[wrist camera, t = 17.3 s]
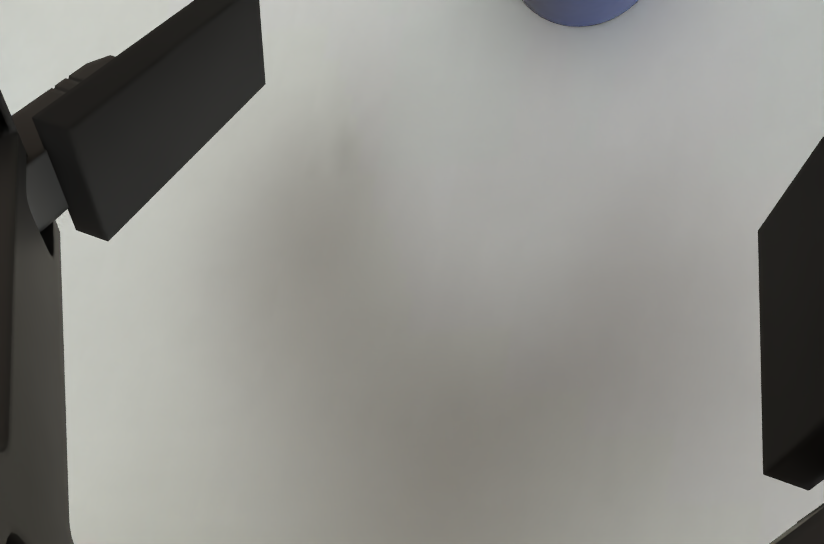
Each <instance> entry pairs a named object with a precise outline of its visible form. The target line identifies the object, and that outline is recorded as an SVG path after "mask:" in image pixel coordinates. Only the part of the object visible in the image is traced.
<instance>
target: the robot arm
mask: <svg viewBox="0 0 824 544" xmlns="http://www.w3.org/2000/svg"><path fill="white" fill-rule="evenodd" d="M264 85H265V72H264V59H263V45H262V32H261V19H260V6H259V0H194V1H193V2H191V3H190V4H189V5H187V6H186V7H184V8H183V9H182V10H180V11H179V12H177V13H176V14H175V15H173V16H172V17H170V18H169V19H168V20H166V21H165V22H164V23H162V24H161V25H159V26H158V27H157V28H155V29H154V30H152V31H151V32H150V33H148V34H147V35H145V36H144V37H143V38H141V39H140V40H139V41H137V42H136V43H134V44H133V45H132V46H130V47H129V48H127V49H126V50H125V51H123V52H122V53H120V54H119V55H118V56H116V57H114V56H111V55H109V56H107V57H104V58H101V59H98V60H95V61H93V62H90V63H87V64H85V65H84V66H82V67H81V68H80V69H78V70H77V71H75V72H74V73H72V74H71V75H70V76H69V79H66V78H65V79H64V80H62V81H61V82H59V83H58V84H57V85H55V88H54V89H53V88H51V89H49V90H48V91H47V92H45V93H44V94H42V95H41V96H39V97H38V98H37V99H35V100H34V101H32V102H31V103H29V104H28V105H27V106H25V107H24V108H22V109H21V110H19V111H18V112H16V113H15V114H14V115H12V116H11V114H10V112H9V109H8V107H7V105H6V102H5V100H4V97H3V95H2V93H1V90H0V544H74V543H73V540H72V537H71V531H70V524H69V500H68V469H67V438H66V406H65V375H64V343H63V312H62V280H61V249H60V231H59V228H58V226H57V223H56V221H55V220H56V219H57V218H58V217H59V216H60V215H61V214H62V213H63V212H64V211H66V210H67V209H68V211H69V213H70V216H71V218H72V221H73V223H74V226H75V228H76V230H78V231H80V232H83V233H86V234H89V235H92V236H94V237H97V238H100V239H103V240H106V241H109V240H110V239H111V238H112V237H113V236H114V235H115V234H116V233H117V232H118V231H119V230H120V229H121V228H122V227H123V226H124V225H125V224H126V223H127V222H128V221H129V220H130V219H131V218H132V217H133V216H134V215H135V214H136V213H137V212H138V211H139V210H140V209H141V208H142V207H143V206H144V205H145V204H146V203H147V202H148V201H149V200H150V199H151V198H152V197H153V196H154V195H155V194H156V193H157V192H158V191H159V190H160V189H161V188H162V187H163V186H164V185H165V184H166V183H167V182H168V181H169V180H170V179H171V178H172V177H173V176H174V175H175V174H176V173H177V172H178V171H179V170H180V169H181V168H182V167H183V166H184V165H185V164H186V163H187V162H188V161H189V160H190V159H191V158H192V157H193V156H194V155H195V154H196V153H197V152H198V151H199V150H200V149H201V148H202V147H203V146H204V145H205V144H206V143H207V142H208V141H209V140H210V139H211V138H212V137H213V136H214V135H215V134H216V133H217V132H218V131H219V130H220V129H221V128H222V127H223V126H224V125H225V124H226V123H227V122H228V121H229V120H230V119H231V118H232V117H233V116H234V115H235V114H236V113H237V112H238V111H239V110H240V109H241V108H242V107H243V106H244V105H245V104H246V103H247V102H248V101H249V100H250V99H251V98H252V97H253V96H254V95H255V94H256V93H257V92H258V91H259V90H260V89H261V88H262V87H263V86H264ZM758 254H759V300H760V346H761V393H762V439H763V474H764V475H767V476H769V477H772V478H775V479H778V480H781V481H783V482H786V483H789V484H792V485H795V486H797V487H800V488H803V489H806V490H810V489H812V488H813V487H814V486H816V485H817V484H818V483H820V482H821V481H822V480H824V137H823V138H822V139H821V141H820V142H819V144H818V145H817V146H816V148H815V149H814V151H813V152H812V154H811V155H810V157H809V158H808V159H807V161H806V162H805V164H804V165H803V167H802V168H801V170H800V171H799V172H798V174H797V175H796V177H795V178H794V180H793V181H792V183H791V184H790V185H789V187H788V188H787V190H786V191H785V193H784V194H783V196H782V197H781V198H780V200H779V201H778V203H777V204H776V206H775V207H774V209H773V210H772V211H771V213H770V214H769V216H768V217H767V219H766V220H765V222H764V223H763V224H762V226H761V227H760V229H759V230H758ZM770 544H824V503H823V504H822V505H821V506H819V507H818V508H816V509H815V510H813V511H812V512H811V513H809V514H808V515H806V516H805V517H804V518H802V519H801V520H799V521H798V522H797V524H795V525H794V526H792V527H791V528H790V529H788V530H787V531H786V532H784V533H783V534H782V535H780V536H779V537H778V538H776V539H775V540H774V541H772V542H771V543H770Z"/></svg>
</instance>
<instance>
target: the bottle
mask: <svg viewBox="0 0 824 544" xmlns="http://www.w3.org/2000/svg"><path fill="white" fill-rule="evenodd" d="M523 1H524V3H525V4H526V5H527V6H528V7H529V8H530V9H531V10H532V11H534V12H535V13H536V14H538V15H539V16H541V17H543V18H545V19H547V20H549V21H551V22H554V23H557V24H561V25H566V26H578V27H580V26H590V25H595V24H600V23H603V22H606V21H609V20H611V19H613V18H615V17H617V16H619V15H620V14H622V13H623V12H625V11H627V10H628V9H629V8H630V7H631V6H633V5H634V4H635V3H636V2H637V1H638V0H523Z"/></svg>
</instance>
